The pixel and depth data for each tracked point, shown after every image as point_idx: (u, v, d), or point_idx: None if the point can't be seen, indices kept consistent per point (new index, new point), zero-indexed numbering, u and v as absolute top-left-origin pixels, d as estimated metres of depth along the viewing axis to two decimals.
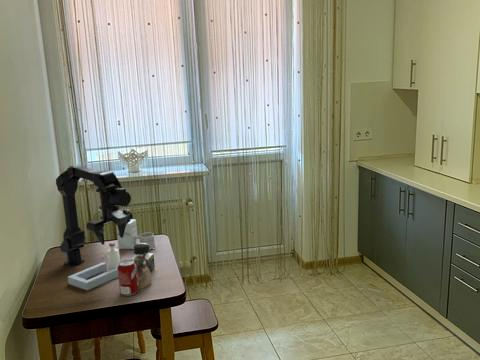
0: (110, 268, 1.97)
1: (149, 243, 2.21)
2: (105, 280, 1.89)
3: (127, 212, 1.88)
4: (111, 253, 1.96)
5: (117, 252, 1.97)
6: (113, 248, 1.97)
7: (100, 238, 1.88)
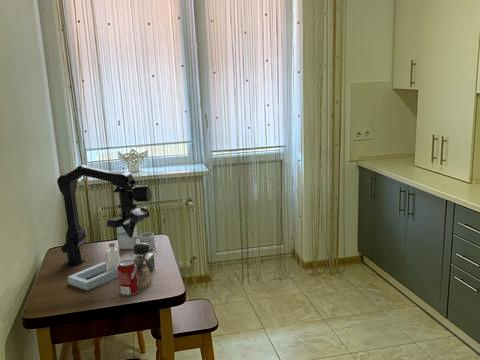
0: (110, 268, 1.97)
1: (149, 243, 2.21)
2: (105, 280, 1.89)
3: (145, 210, 2.01)
4: (111, 253, 1.96)
5: (117, 252, 1.97)
6: (113, 248, 1.97)
7: (128, 231, 2.04)
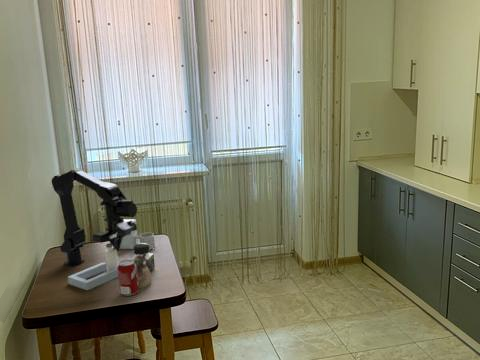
0: (110, 268, 1.97)
1: (149, 243, 2.21)
2: (105, 280, 1.89)
3: (131, 223, 1.95)
4: (109, 254, 1.95)
5: (115, 252, 1.96)
6: (110, 249, 1.96)
7: (114, 246, 1.98)
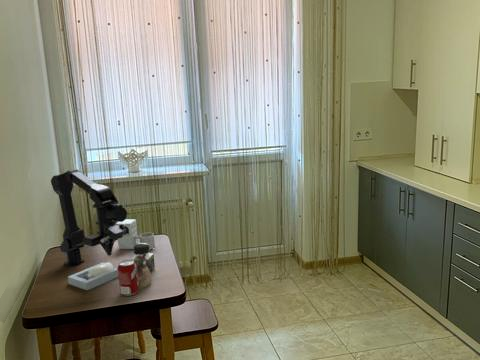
0: None
1: (149, 243, 2.21)
2: (105, 280, 1.89)
3: (123, 227, 1.92)
4: None
5: (96, 275, 1.89)
6: (90, 277, 1.89)
7: (106, 249, 1.95)
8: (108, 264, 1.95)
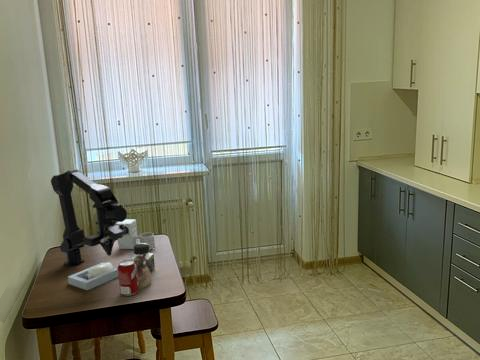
0: None
1: (149, 243, 2.21)
2: (105, 280, 1.89)
3: (123, 227, 1.92)
4: None
5: (96, 274, 1.90)
6: (90, 277, 1.89)
7: (106, 249, 1.95)
8: (108, 264, 1.96)
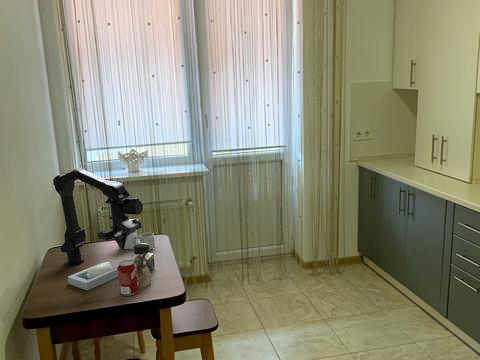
0: None
1: (149, 243, 2.21)
2: (105, 280, 1.89)
3: (136, 222, 1.97)
4: None
5: (94, 273, 1.90)
6: (89, 276, 1.89)
7: (119, 243, 2.00)
8: (106, 263, 1.96)
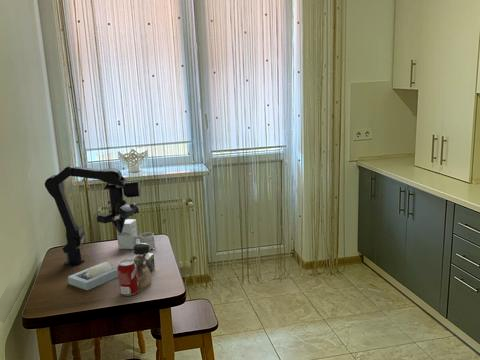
0: None
1: (149, 243, 2.21)
2: (105, 280, 1.89)
3: (134, 206, 2.06)
4: None
5: (93, 271, 1.90)
6: (88, 275, 1.90)
7: (117, 227, 2.09)
8: (104, 262, 1.97)
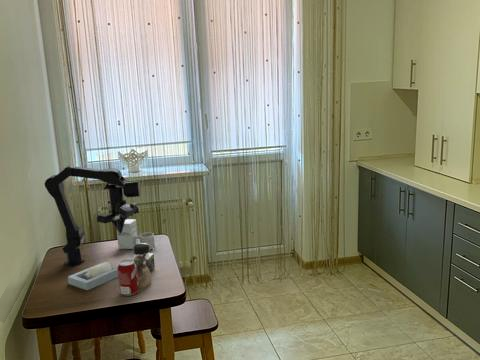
0: None
1: (149, 243, 2.21)
2: (105, 280, 1.89)
3: (134, 206, 2.06)
4: None
5: (93, 271, 1.90)
6: (88, 275, 1.90)
7: (117, 227, 2.09)
8: (104, 262, 1.97)
